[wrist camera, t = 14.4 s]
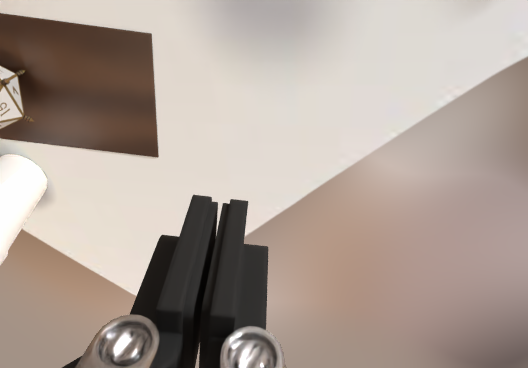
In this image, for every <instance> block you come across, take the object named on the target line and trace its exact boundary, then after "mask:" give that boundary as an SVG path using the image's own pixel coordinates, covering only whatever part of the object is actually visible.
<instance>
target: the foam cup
mask: <svg viewBox="0 0 528 368" xmlns="http://www.w3.org/2000/svg"><path fill="white" fill-rule="evenodd" d="M47 187H48V185H47V177H46V176H45V174H44V173H43V171H42V169H41V168H40V167H39V166H37V165H36V164H35V163H34V162H32V161H31V160H29V159H27V158H24V157H22V156H19V155H11V154H5V155H3V156H1V157H0V265H1V264H2V262H3V261H4V260H5V258H6V257H7V255H8V250H9V248H10V246H11V245H12V243H13V242H14V240H15V238H16V237H17V235H18V234H19V232H20V230H21V229H22V227H23V226H24V224H25V222H26V221H27V219H28V218H29V216H30V215H31V213H32V211H33V210H34V208H35V207H36V205H37V203H38V202H39V200H40V199H41V197H42V195H43V194H44V192H45V191H46V189H47Z"/></svg>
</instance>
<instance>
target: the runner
mask: <svg viewBox="0 0 528 368" xmlns="http://www.w3.org/2000/svg"><path fill="white" fill-rule="evenodd" d="M0 65H1V66H3V67H4V68H6V69H8V70H10V71H12V72H14V73H16V72H17V71H19V70H25V72H24V75H21V76H18V79H19V85H20V91H21V97H22V103H23V109H24V115H25V116H28V117H31V118H32V119H33V122H28V121H25V119H21V120H19V121H17V122H15V123H13V124H11V125H9V126H7V127H5V128H3V129H1V130H0V138H2V139H10V140H19V141H27V142H35V143H44V144H52V145H60V146H68V147H77V148H85V149H93V150H102V151H110V152H118V153H127V154H135V155H143V156H152V157H158V142H157V125H156V107H155V89H154V72H153V54H152V36H151V34H148V33H141V32H134V31H126V30H119V29H112V28H104V27H97V26H89V25H82V24H75V23H67V22H60V21H53V20H45V19H38V18H30V17H23V16H16V15H8V14H1V13H0Z"/></svg>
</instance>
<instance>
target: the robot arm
mask: <svg viewBox="0 0 528 368" xmlns="http://www.w3.org/2000/svg"><path fill="white" fill-rule="evenodd" d="M247 207H248V201H242V200H234V199H231V200H230V204H227V203H223V206H222V211H221V216H220V221H219V226H218V231H217V235H216V227H217V211H218V202H212V197H208V196H199V195H193V197H192V199H191V203H190V206H189V209H188V212H187V215H186V218H185V221H184V224H183V227H182V230H181V233H180V236H179V237H177V236H168V235H161V237H160V238H159V241H158V243H157V246H156V248H155V251H154V253H153V256H152V258H151V261H150V264H149V266H148V269H147V271H146V274H145V276H144V279H143V282H142V284H141V287H140V289H139V292H138V294H137V297H136V300H135V302H134V305H133V307H132V310H131V312H130V315H125V316H120V317H118V318H116V319H113V320H111V321H110V322H109V323H107V324H106V325H104V326H103V327H102V328H101V329H100V330H99V332H98V333H97V334H96V335H95V337H94V339H93V340H92V342H91V343H90V345H89V346H88V348H87V349H86V351H85V353H84V354H83V356H81V357H79V358H77V359H76V360H74V361H73V362H71V363H69V364H67V365H66V366H64V367H63V368H195V364H196V359H197V354H198V349H199V343H200V356H199V368H286V365H285V360H284V354H283V351H282V347H281V344H280V343H279V342H278V340H277V339H276V337H275V336H274V335H272V334H271V333H270V332H268V331H267V330H266V307H267V274H268V247H267V246H258V245H249V244H244V235H245V225H246V216H247Z"/></svg>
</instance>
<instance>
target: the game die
mask: <svg viewBox="0 0 528 368" xmlns="http://www.w3.org/2000/svg"><path fill="white" fill-rule="evenodd" d="M24 72H25V70H19V71H17V72H16V73H14V72H12V71H10V70H8V69H6V68H4V67H3V66H1V65H0V130H1V129H3V128H5V127H7V126H9V125H11V124H13V123H15V122H17V121H19V120H21V119H25V121H28V122H33V119H32V118H31V117H28V116H25V115H24V109H23V103H22V97H21V91H20V85H19V79H18V76H21V75H24Z"/></svg>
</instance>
